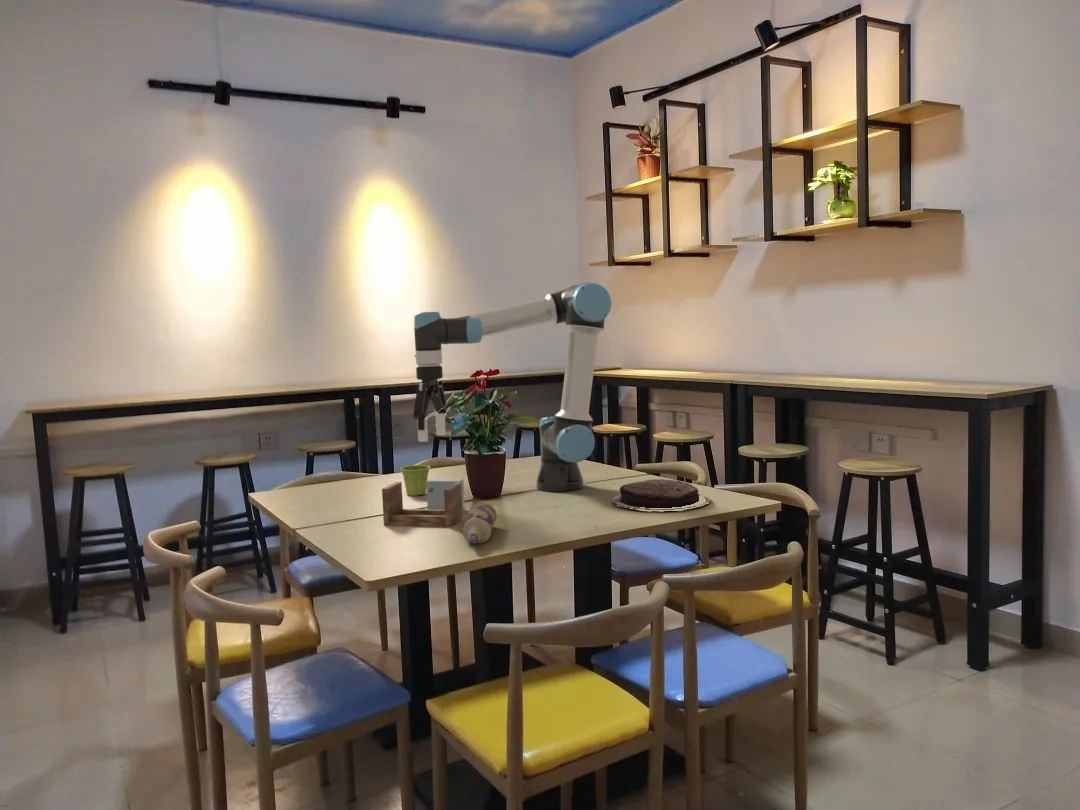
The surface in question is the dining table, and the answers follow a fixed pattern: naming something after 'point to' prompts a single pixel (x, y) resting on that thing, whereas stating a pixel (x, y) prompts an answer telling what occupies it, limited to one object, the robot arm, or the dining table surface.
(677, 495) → the chocolate cake
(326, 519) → the dining table surface
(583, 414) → the robot arm
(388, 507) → the track
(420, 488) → the plant pot
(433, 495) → the door panel
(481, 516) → the decorative bottle
